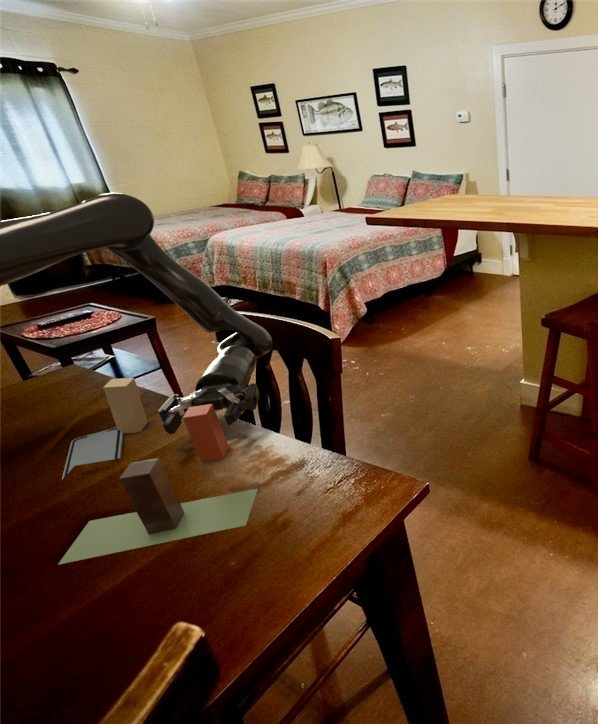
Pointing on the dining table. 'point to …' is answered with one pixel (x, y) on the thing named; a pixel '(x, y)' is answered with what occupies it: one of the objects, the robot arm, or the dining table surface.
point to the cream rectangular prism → (125, 405)
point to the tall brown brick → (152, 495)
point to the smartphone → (94, 448)
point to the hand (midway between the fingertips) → (199, 425)
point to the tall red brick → (206, 432)
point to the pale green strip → (132, 533)
